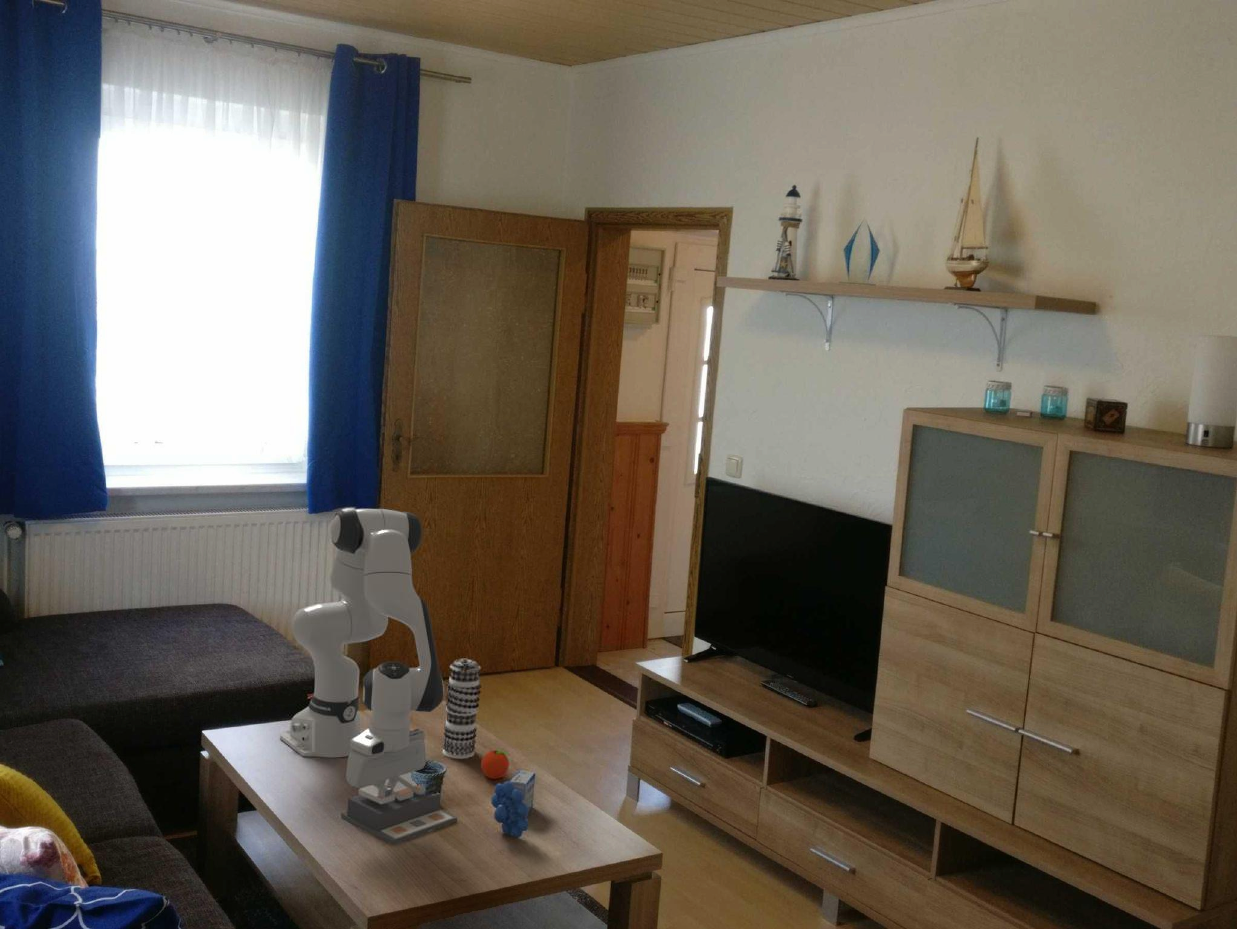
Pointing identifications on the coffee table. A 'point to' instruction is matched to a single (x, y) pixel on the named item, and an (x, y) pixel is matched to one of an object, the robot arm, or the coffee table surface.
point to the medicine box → (525, 786)
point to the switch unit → (398, 816)
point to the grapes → (510, 809)
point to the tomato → (495, 764)
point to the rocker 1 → (374, 794)
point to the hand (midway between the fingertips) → (385, 796)
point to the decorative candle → (461, 709)
